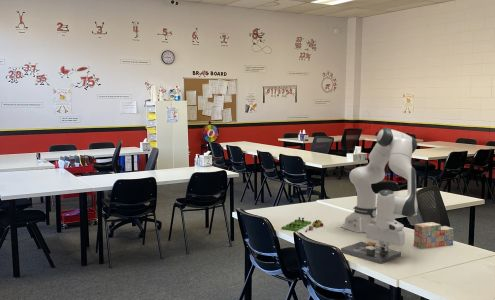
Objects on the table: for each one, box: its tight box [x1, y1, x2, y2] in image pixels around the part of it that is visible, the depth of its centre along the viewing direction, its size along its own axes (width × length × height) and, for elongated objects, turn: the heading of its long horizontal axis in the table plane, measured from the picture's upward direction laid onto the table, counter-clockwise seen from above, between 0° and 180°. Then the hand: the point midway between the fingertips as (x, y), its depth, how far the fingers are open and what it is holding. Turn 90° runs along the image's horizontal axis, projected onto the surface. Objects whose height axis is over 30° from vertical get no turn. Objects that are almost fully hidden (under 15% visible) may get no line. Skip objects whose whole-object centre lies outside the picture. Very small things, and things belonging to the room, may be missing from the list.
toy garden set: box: [281, 216, 324, 233], centre depth 298 cm, size 23×19×5 cm
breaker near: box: [366, 246, 376, 255], centre depth 239 cm, size 4×4×3 cm
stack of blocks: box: [413, 221, 455, 250], centre depth 261 cm, size 21×6×12 cm, turn 111°
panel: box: [340, 241, 402, 265], centre depth 246 cm, size 24×18×2 cm
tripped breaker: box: [365, 241, 377, 247], centre depth 246 cm, size 4×4×3 cm
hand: (383, 250), depth 240 cm, fingers closed
